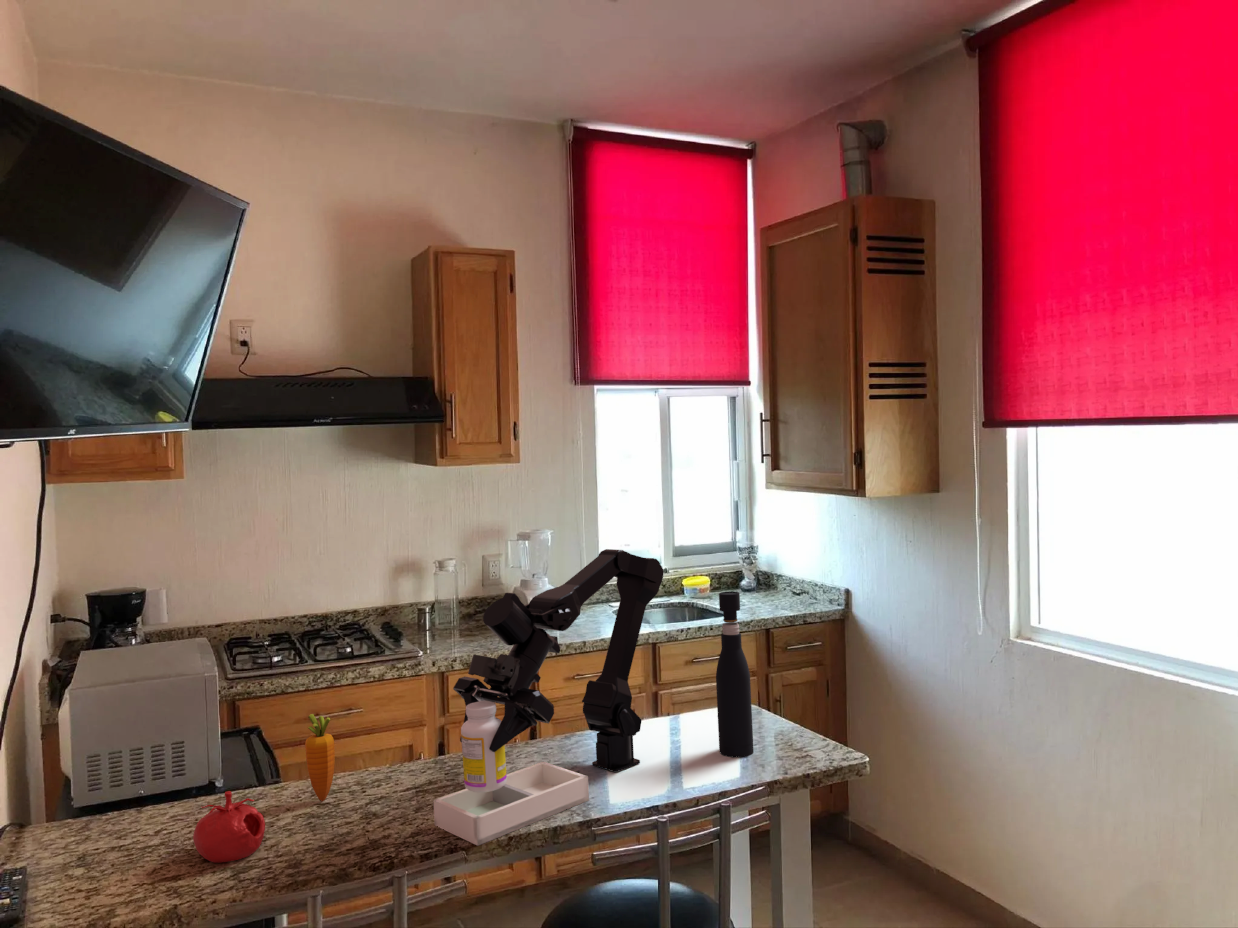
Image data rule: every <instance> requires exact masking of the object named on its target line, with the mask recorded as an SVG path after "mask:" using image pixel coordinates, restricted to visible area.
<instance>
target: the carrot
mask: <svg viewBox="0 0 1238 928" xmlns="http://www.w3.org/2000/svg"><path fill="white" fill-rule="evenodd" d="M308 719H309V721H310V722H311V724H312V725H309V726H308V727H307V728H308V729H309V730H310V731H311V732H312V733H313V734H312V735H310V736H309V737H307V738H306V739H305V742H304V743H305V745H304V748H305V757H306V759H305V760H306V767H307V772H308V777H309V779H310V780H309V781H310V784H311V786H312V790H313V791H314V794H315V795H316V797H317V798H318V800H319V801H321V802H324V801H326V799H327V797H328V796H329V792H330V791H331V788H332V784H333V779H334V773H335V761H336V760H335V759H336V756H335V755H336V753H335V751H336V749H335V748H336V747H335V739H334V737H333V735H332V734H330V733H326V730H327V727H328V725H329V723H330V721H331V718H330V717H326V718H324V716H323V715H319V716H318V720H317V718H316V716H315V715H314V713H310V714H309V715H308ZM318 721H319V722H318Z"/></svg>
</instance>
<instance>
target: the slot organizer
mask: <svg viewBox="0 0 1238 928" xmlns="http://www.w3.org/2000/svg"><path fill="white" fill-rule="evenodd" d="M506 774H507V781H506V784H505V785H504V786H503V787H501V788H500V789H497V790H494V791H490V792H472V791H470V790H468V789H467V788H465V789H464V788H463V789H462V790H459V791H456V792H452V793H450V794H447V795H444V796H441V797H438V798H435V799H433V818H434V819H433V820H434V821H433V822H434V826H435V827H437V826H438V827H437V828H439V827H440V828H439V829H441V830H443V829H444V831H446V832H447V833H450V834H452V835H454V836H457V837H458V838H461V839H463V840H465V841H467V842H469V843H471V844H473V845H476V846H477V847H478V846H480V845H483V844H486V843H488V842H491V841H493V840H495V839H498V838H500V837H503V836H505V835H507V834H510V833H512V832H514V831H515V832H516V831H518V830H520V829H523V828H525V827H527V826H530V825H533V824H534V823H537V822H539V821H542V820H544V819H547V818H549V817H551V816H554V815H557V814H559V813H562V812H564V811H566V809H567V810H569V809H571V807H572V808H574V807H576V806H579V805H581V804H584V803H585V802H588V801H590V793H589V791H590V789H589V776H588V775H585V774H582V773H580V772H579V773H578V772H577V771H573V770H570V769H567V768H564V767H561V766H558V765H554V764H552V763H549V762H545V761H541V762H538V763H536V764H533V765H529V766H526V767H525V768H520V769H518V770H515V771H512V772H509V773H506Z"/></svg>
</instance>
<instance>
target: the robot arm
mask: <svg viewBox="0 0 1238 928" xmlns="http://www.w3.org/2000/svg"><path fill="white" fill-rule="evenodd" d="M614 578H616V588H617V592H618V595H619V599H620V600H619V606H618V608H617V613H616V616H615V619H614V624H613V628H612V633H611V636H610V639H609V644H608V648H607V651H606V655H605V659H604V663H603V668H602V671H601V674H600V675H599V676H598V677H597V678H596V680H592V679H591V680H588V682H587V684H586V689H585V693H584V696H583V698H582V700H581V703H583V704H582V714H584V718H585V720H586V721H585V722H586V723H587V726H588V727H587V728H588V730H589V731H590V732H591V731H593V732H596V742H595V753H596V756H595V757H596V760H594V761H592V763H591V764H592V766H595V767H598V768H601V769H604V770H608V771H610V772H613V773H618V772H621V771H622V770H625V769H628V768H630V767H633V766H635V765H637V764H640V763H641V760H640V759H638V758H635V753H634V737H635V736H636V735H637V733H639V732H640V731H641V726H642V718H641V717H640V716H639V715H638V714H637V713H636V712H635V711H634V710H633V709H632V701H633V695H632V692H631V689H630V685H629V677H630V672H631V668H632V665H633V661H634V660H633V659H634V656H635V652H636V649H637V644H638V639H639V637H640V633H641V629H642V624H643V620H644V616H645V611H646V608H647V606H648V605H649V604H650V602H651V601H652V600H654V598H655V597H656V596H657V595H658V593H659V590H660V587H661V584H662V583H663V579H664V569H663V566H662V565H661V563H660V561H659V560H658V559H657V558H655V557H653V558H652V557H642V556H639V555H636V554H632V553H630V552H628V551H626V550H624V549H608V548H607V549H604V550H601V551H600V552H599V554H598V555H597V557H595V558H594V559H593V560H592V561H590V562H589V563H588V564H587V565H586V566H584V567H583V568H581V570H580V571H578V572H577V573H576V574H574V575H573V576H572V577H571V578H569V579H568V580H567V581H566V582H565V583H563V584H562V585H560V586H556V587H553V588H550V589H546V590H545V591H543V592H541V593H538V594H537V595H535V596H534V597H532V598H531V600H529V603H527V604H524V603H523V602H522V601H521V599H520V598H519V596H518V595H517V594H516V593H513V592H505V594H504V595H503V597H501V598H499V599H497V600H496V601H494V602H493V603H492V604H490V606H488V607H487V608H486V609H485V611H484V614H483V619H482V620H483V623H484V625H485V626H487V628H488V629H489V630H491V632H492V633H493V634H494V635H496V637H498V638H499V640H500V641H502V642H503V644H505V645H507V646H512V647H511V649H510V650H509V652H508V653H507V654H505V653H504V654H503V653H500V654H499V655H498V657H497V658H496V657H491V656H485V655H481V654H480V655H478V654H473V655H472V658H471V661H470V665H469V669H468V672H467V674H468V675H469V676H478V677H481V678H483V680H482V681H483V682H482V681H481V680H480V679H478V678H474V677H469V676H462V677H459V678H458V680H456V683H455V684H454V686H453V688H452V689H453V690H454V691H455V692H456V694H458V695H459V696H460V697H461V699H462V700H463V701H464V704H465V705H464V706H465V707H466V706H467V705H468V704H471V703H474V702H480V701H490V702H494V703H495V704H499V705H504V713H503V714H504V715H503V718H502V719H501V723H500V726H499V728H498V730H497V732H496V734H495V736H494V738H493V740H492V742H491V745H490V748H489V749H490V750H491V751H492V752H496V751H497V750H498V749H500V748H501V747H502V746H504V745H506V744H508V742H511V741H512V740H513V739H514V738H515V737H517V736H518V735H520V734H521V733H523V732H525V731H526V730H528V729H529V728H530V727H533V726H535V727H536V725H538V723H539V722H540V723H543V724H544V723H545V724H548V725H549V724H550V723H551V720H552V718H553V717H554V715H555V705H554V704H553V703H552V702H551V701H550V700H549V699H548V698H547V697H546V696H545V695H544V694H542V693H541V692H540V691H539V690H537V689H532V688H531V686H532V684H533V683H536V684H539V682H540V681H541V678H542V677H541V676H540V675H539V674H538V672H539V671H540V669H541V668H542V666H543V664H544V661H545V659H546V658H547V657H548V654H549V653H553V654H560V653H561V646H560V644H559V641H558V640H559V638H558V636H554V635H550V634H549V633H548V632H547V631H546V630H549V631H558V632H564V631H566V630H569V628H570V627H571V626H572V625H573V624H574V622H575V621H576V620H577V618H578V617H579V615H580V614H581V608H582V606H583V605H584V604H585V603H586V602H587V601H588V600H589V599H590V598H591V597H593V596H594V595H595V594H596V593H597V592H599V591H600V590H601V589H603V587H604V586H606V585H607V584H608V583H609V582H610V581H611V580H613V579H614ZM484 683H485V684H486V685H488V686H490V687H489V688H488V687H487V686H486V685H485V684H484ZM467 720H468V717H467V715H466V710H465V712H464V719H463V724H464V723H465V722H466V721H467ZM463 724H462V725H463ZM459 739H460V740H459V741H460V743H461V744H462V739H461V737H460V738H459Z"/></svg>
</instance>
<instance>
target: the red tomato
mask: <svg viewBox="0 0 1238 928" xmlns="http://www.w3.org/2000/svg"><path fill="white" fill-rule="evenodd" d="M232 795H233V793H232V791H231V790H227V791H225V792H224V797H225V803H224V806H223V805H221V804H220V805H218V804H217V805H215V804H213V805H211V804H207V805H204V806H201V808H202V809H205V808H208V807H212V808H211V809H210V810H209V812H208V813H206V814H205V815H204V816H203V817H201V818H200V819H199V820H198V822H197V823H196V826H195V827H194V831H193V837H192V838H193V839H192V840H193V844H194V846H195V849H196V851H197V852H198V853H197V854H199V855H200V856H201V857H202V858H204V859H205V860H207V861H209V862H211V863H215V864H216V863H217V864H221V863H226V862H227V863H228V862H233V861H234V862H235V861H238V860H241V859H244V858H248V857H249V856H251V855H253V854H254V853H256V851H257V850H258V849H259V848H260V846H261V844H262V841H263V840H264V836H265V831H266V821H265V818H264V815H263V814H262V813H261V812H259V811H258V809H257V808H256V807H255V806H252V805H249V804H247V803H245V802H247V801H249V802H254V801H255V799H251V798H248V797H247V798H245V799H244V800H241V801H237V802H232Z"/></svg>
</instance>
